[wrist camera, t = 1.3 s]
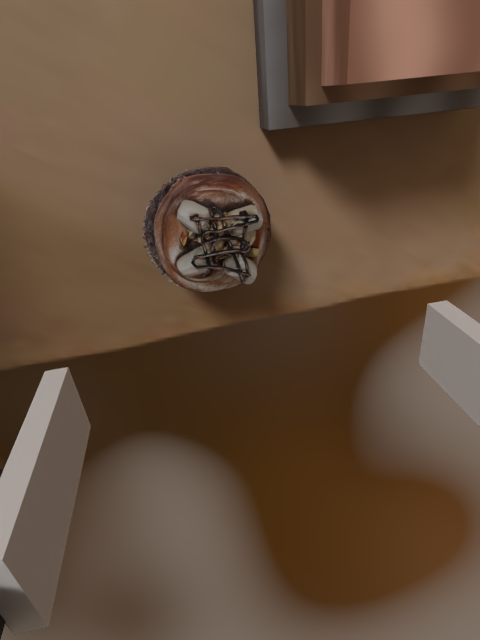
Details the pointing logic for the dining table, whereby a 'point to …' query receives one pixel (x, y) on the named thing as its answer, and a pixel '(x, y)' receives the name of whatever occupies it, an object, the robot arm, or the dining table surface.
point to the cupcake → (207, 229)
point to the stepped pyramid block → (364, 59)
